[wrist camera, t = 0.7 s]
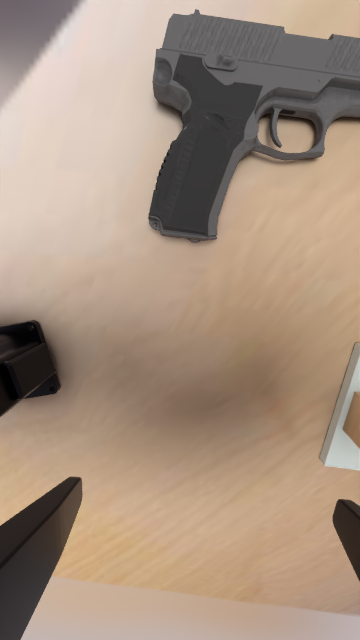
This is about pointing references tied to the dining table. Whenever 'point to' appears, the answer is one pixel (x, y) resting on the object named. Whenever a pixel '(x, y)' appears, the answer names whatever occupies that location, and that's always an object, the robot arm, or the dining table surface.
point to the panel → (337, 442)
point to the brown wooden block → (353, 420)
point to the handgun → (239, 106)
